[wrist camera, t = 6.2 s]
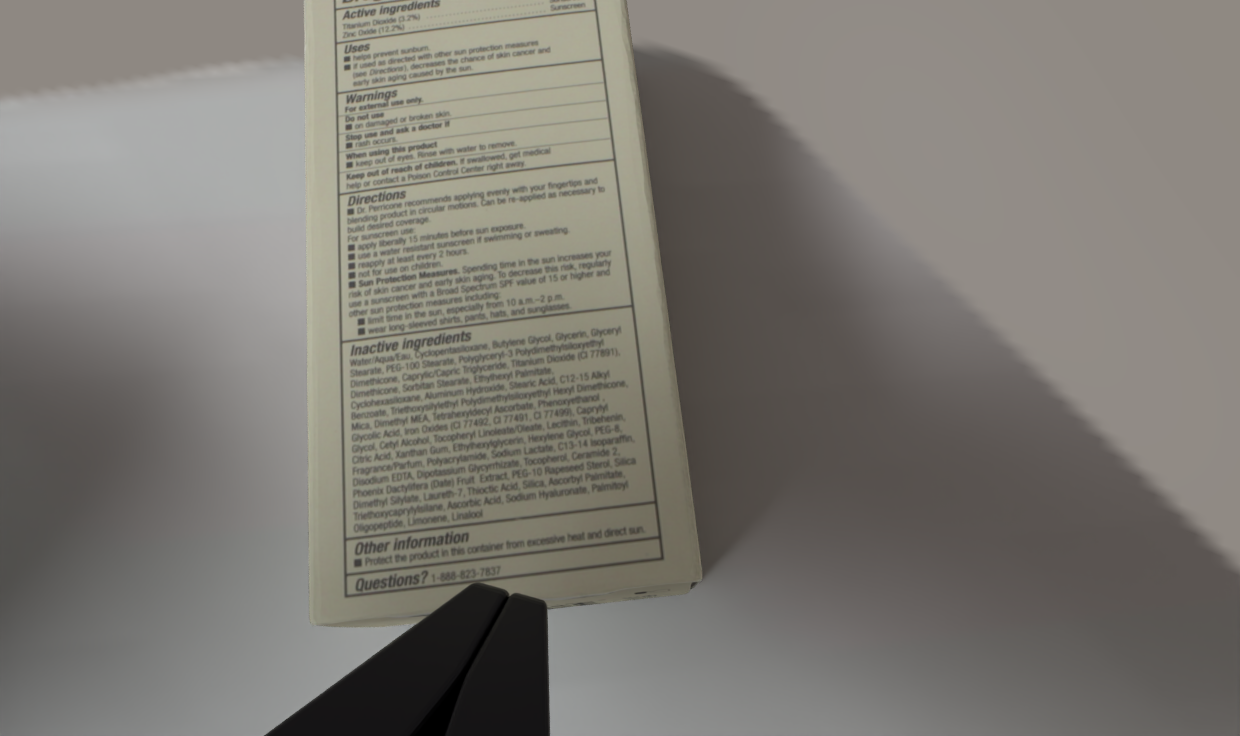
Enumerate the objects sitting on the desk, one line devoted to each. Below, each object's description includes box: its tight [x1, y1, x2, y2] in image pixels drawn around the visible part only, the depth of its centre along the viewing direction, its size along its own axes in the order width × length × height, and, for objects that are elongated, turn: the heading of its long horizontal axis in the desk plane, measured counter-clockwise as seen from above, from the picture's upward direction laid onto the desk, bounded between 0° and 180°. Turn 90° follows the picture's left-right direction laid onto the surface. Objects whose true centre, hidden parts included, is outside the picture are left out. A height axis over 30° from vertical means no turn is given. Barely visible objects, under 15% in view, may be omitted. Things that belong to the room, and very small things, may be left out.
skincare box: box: [304, 0, 703, 627], centre depth 16 cm, size 6×4×12 cm
